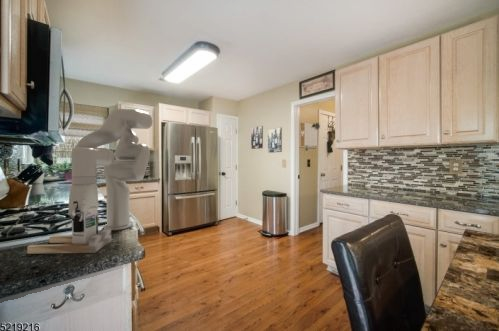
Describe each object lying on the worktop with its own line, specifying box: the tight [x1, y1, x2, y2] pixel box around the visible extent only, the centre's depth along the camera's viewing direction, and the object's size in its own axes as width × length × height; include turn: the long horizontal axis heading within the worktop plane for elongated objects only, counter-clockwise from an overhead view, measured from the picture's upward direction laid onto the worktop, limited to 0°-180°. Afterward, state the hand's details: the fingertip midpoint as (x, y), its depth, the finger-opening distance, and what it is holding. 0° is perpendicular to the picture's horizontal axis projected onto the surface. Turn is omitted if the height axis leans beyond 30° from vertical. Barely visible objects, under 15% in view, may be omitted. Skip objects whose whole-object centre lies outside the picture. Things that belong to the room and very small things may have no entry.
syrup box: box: [71, 207, 99, 243], centre depth 84 cm, size 6×6×14 cm
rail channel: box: [26, 229, 112, 255], centre depth 84 cm, size 11×22×5 cm, turn 95°
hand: (85, 228), depth 84 cm, fingers closed on syrup box, 6 cm apart
